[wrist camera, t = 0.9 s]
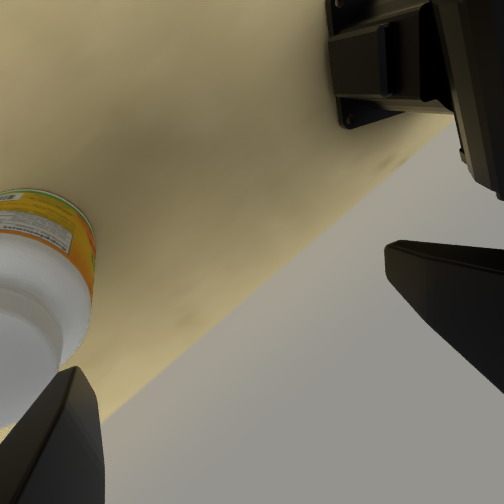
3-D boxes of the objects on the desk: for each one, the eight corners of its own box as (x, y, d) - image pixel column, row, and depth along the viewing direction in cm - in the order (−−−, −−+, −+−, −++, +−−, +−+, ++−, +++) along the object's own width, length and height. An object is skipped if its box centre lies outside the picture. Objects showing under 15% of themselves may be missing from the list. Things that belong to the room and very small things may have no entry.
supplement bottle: (73, 304, 20) (46, 465, 11) (-50, 273, 17) (-203, 449, 9) (113, 213, 19) (117, 315, 10) (-12, 166, 16) (-143, 247, 8)
